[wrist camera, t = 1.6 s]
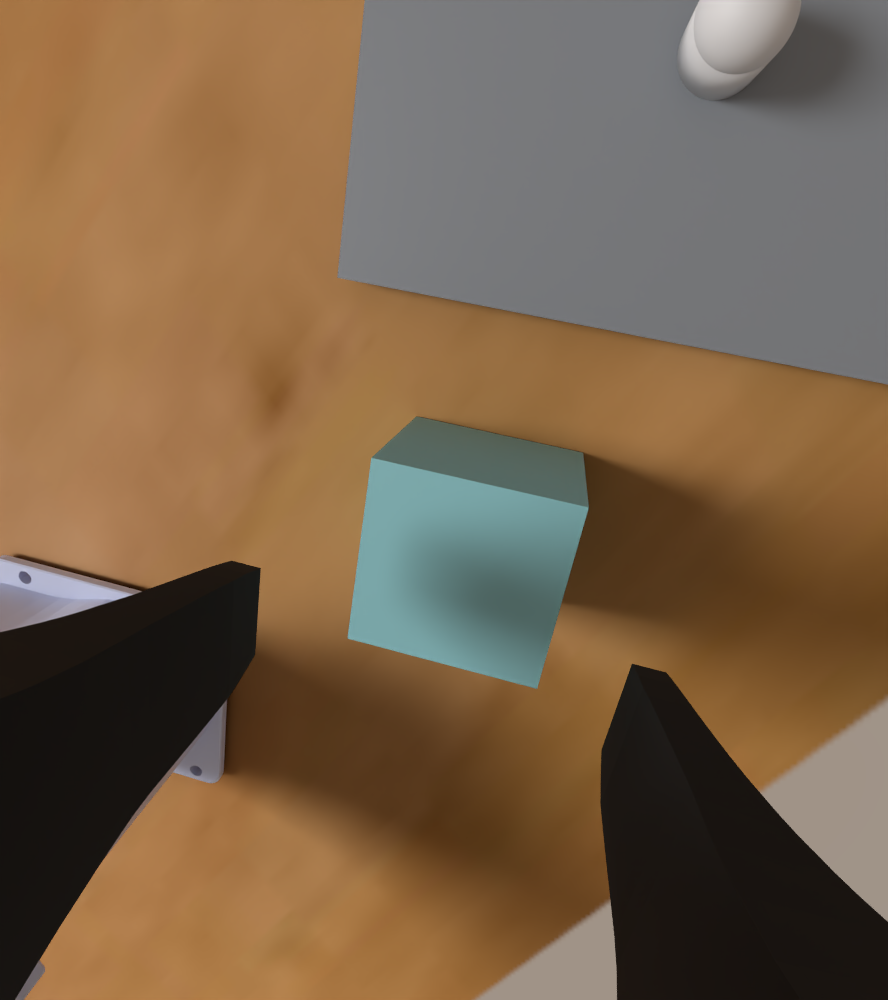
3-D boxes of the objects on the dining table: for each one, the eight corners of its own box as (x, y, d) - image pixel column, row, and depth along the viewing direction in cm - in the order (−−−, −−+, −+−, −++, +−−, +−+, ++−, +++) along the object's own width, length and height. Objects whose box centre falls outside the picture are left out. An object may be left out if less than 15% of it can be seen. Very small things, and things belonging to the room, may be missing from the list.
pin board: (350, 277, 17) (295, 277, 13) (414, -333, 12) (357, -566, 9) (955, 395, 15) (1069, 428, 12) (1286, -270, 11) (1632, -534, 7)
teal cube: (393, 562, 20) (347, 638, 16) (416, 416, 18) (371, 458, 14) (543, 599, 19) (537, 688, 15) (583, 452, 17) (588, 507, 13)
